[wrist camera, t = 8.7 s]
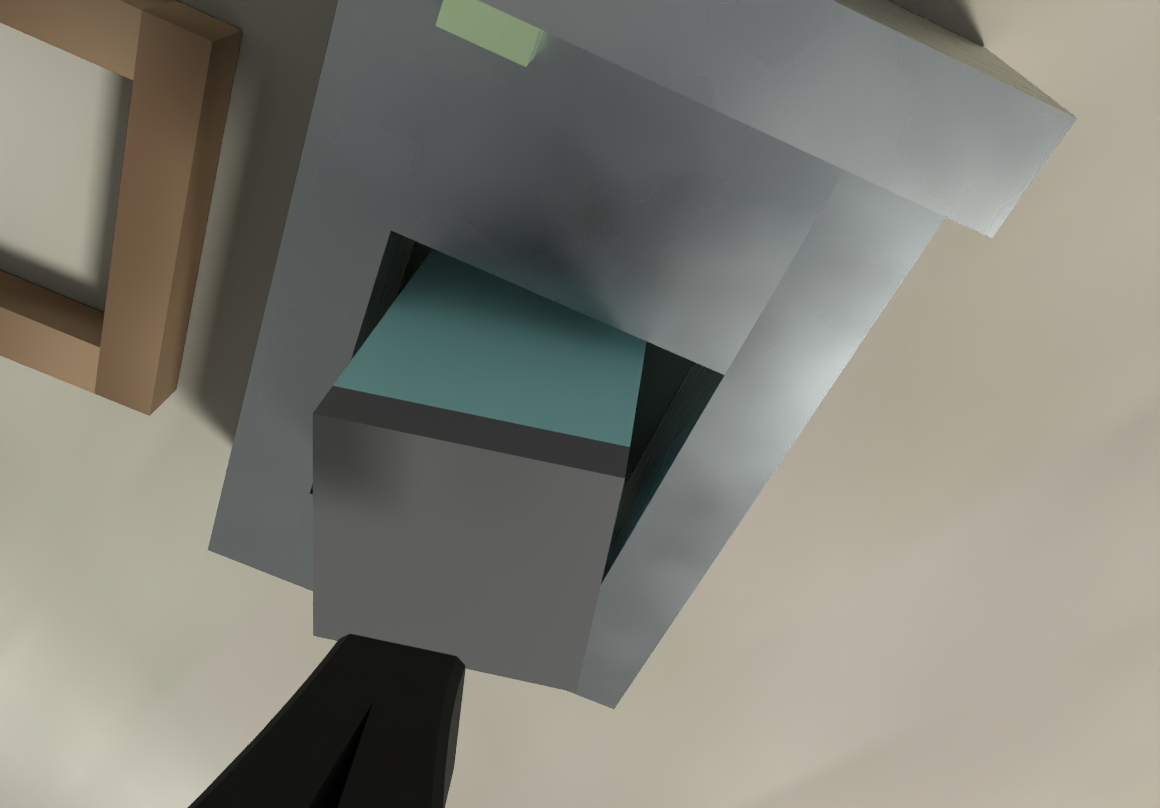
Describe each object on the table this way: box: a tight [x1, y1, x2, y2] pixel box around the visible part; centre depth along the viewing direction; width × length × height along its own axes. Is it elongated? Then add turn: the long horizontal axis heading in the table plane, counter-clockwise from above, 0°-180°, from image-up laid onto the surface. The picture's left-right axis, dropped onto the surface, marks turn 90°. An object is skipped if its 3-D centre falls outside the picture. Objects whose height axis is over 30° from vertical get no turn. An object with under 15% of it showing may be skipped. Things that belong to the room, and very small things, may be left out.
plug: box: [313, 251, 647, 692], centre depth 15 cm, size 4×4×6 cm
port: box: [208, 0, 1077, 709], centre depth 15 cm, size 8×13×4 cm, turn 158°
